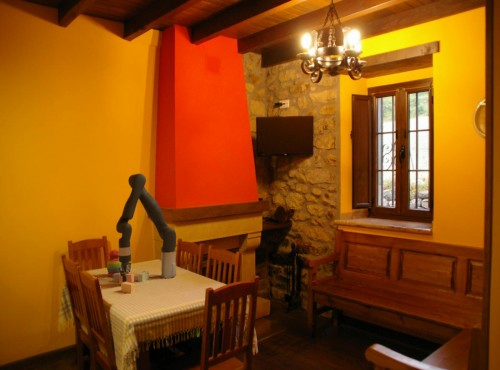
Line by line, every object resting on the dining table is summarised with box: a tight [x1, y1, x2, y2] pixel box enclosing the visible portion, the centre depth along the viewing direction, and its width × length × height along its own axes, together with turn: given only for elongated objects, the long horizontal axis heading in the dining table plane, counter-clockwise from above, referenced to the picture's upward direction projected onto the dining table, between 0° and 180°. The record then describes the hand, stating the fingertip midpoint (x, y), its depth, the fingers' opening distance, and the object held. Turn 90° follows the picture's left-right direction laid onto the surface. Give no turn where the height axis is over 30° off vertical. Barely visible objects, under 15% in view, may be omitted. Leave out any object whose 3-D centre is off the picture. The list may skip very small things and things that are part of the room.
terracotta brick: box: [119, 272, 135, 284], centre depth 255 cm, size 8×4×5 cm, turn 85°
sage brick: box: [137, 270, 150, 283], centre depth 266 cm, size 8×4×5 cm, turn 165°
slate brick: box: [112, 273, 120, 283], centre depth 263 cm, size 8×4×5 cm, turn 84°
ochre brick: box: [120, 282, 137, 294], centre depth 241 cm, size 8×4×5 cm, turn 62°
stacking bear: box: [106, 248, 121, 278], centre depth 278 cm, size 11×10×18 cm
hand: (125, 280), depth 256 cm, fingers closed on terracotta brick, 3 cm apart
